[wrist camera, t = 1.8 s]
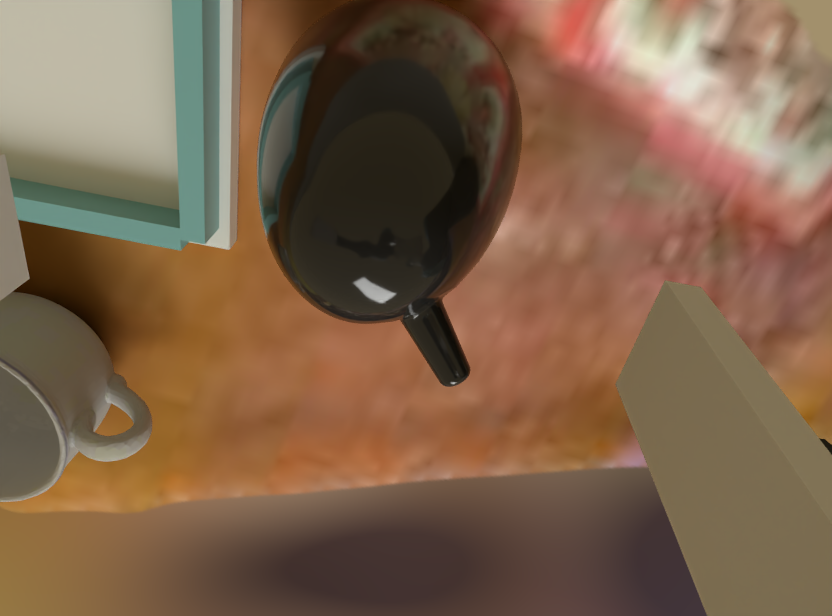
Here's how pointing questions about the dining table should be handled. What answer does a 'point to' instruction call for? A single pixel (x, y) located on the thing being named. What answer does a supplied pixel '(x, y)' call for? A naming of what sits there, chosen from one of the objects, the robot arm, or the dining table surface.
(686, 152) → the dining table surface
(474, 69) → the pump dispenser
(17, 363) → the teacup
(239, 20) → the dock
